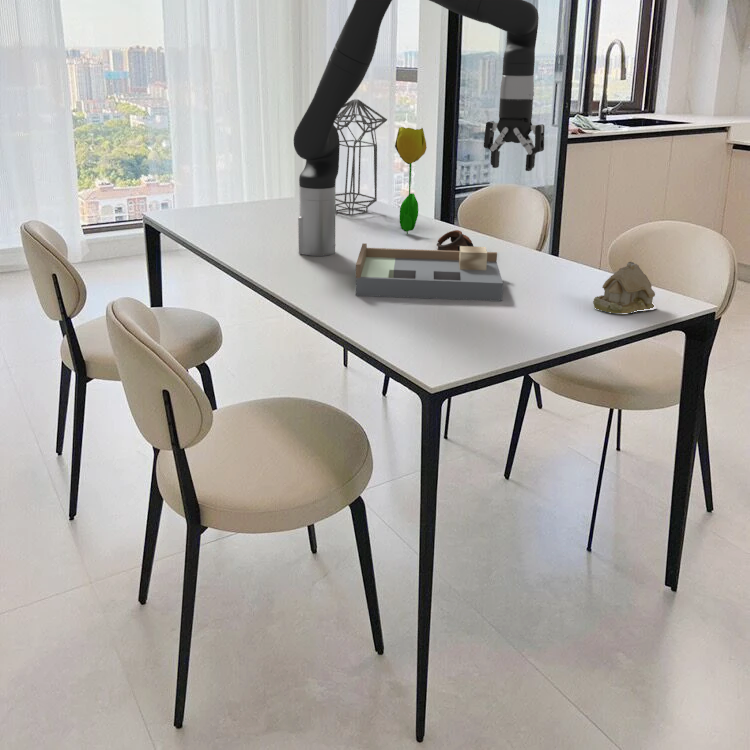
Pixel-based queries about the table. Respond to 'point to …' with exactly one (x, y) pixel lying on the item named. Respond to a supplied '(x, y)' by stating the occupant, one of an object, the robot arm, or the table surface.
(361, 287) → the board
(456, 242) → the brown curved piece
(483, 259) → the maple block
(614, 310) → the ceramic model
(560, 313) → the table surface
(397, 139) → the flower
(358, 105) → the geometric lantern
